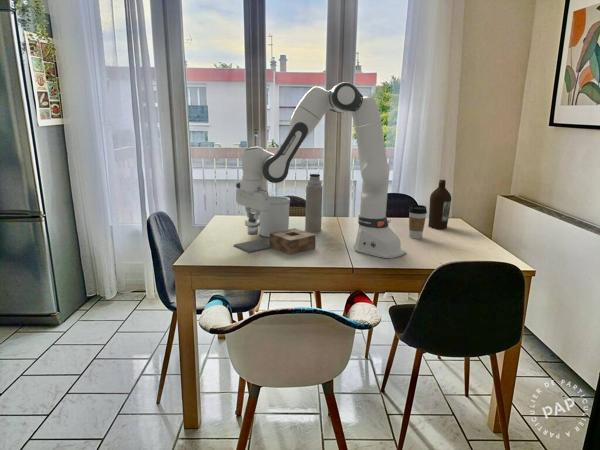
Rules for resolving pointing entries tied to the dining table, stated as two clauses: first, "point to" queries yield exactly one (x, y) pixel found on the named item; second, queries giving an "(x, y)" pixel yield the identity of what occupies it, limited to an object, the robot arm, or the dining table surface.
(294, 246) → the socket block
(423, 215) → the coffee cup
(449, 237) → the dining table surface
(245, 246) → the mat
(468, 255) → the dining table surface
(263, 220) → the utensil holder
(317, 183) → the thermos bottle
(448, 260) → the dining table surface
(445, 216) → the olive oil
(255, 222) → the end cover
